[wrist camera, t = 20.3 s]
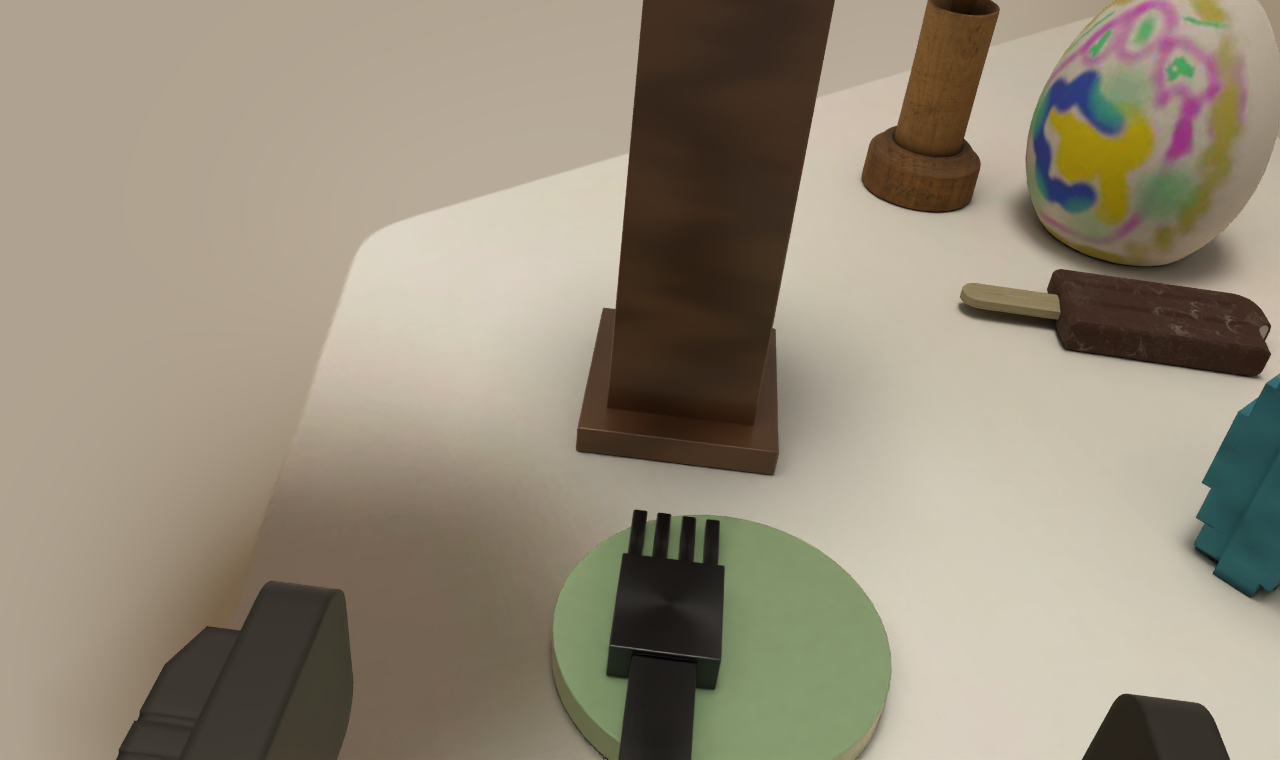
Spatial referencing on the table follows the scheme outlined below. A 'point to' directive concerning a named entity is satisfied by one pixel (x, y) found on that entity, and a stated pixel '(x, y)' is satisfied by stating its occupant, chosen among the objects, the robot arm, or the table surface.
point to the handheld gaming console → (1246, 498)
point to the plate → (741, 649)
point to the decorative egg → (1155, 128)
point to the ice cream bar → (1142, 320)
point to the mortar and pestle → (936, 113)
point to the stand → (706, 233)
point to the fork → (666, 636)
